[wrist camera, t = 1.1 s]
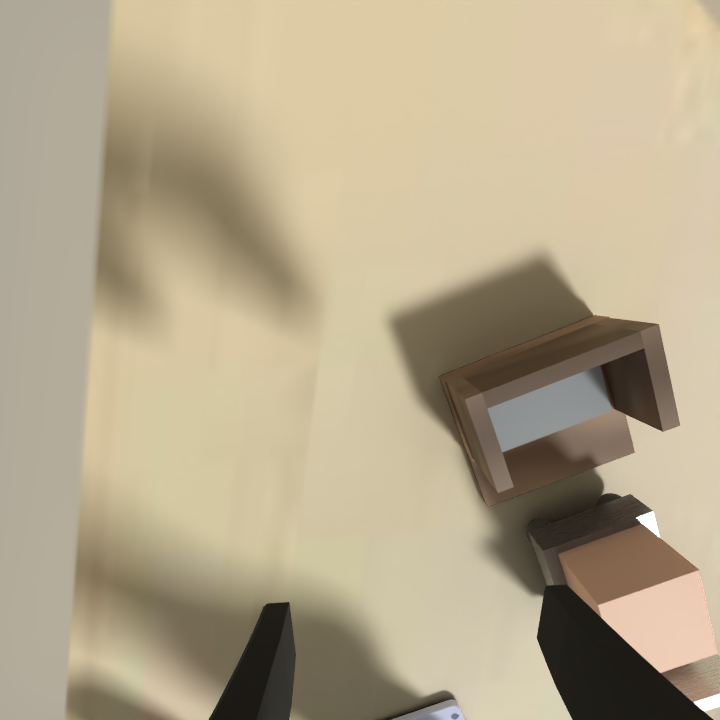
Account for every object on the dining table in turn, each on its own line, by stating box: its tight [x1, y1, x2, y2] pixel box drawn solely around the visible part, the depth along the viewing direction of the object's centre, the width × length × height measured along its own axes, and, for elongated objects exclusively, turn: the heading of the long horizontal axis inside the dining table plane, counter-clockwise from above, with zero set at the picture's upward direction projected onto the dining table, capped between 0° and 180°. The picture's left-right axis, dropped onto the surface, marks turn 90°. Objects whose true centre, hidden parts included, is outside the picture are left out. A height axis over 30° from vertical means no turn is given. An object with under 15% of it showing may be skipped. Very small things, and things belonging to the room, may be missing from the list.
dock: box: [439, 315, 680, 507], centre depth 18 cm, size 8×9×4 cm
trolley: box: [527, 493, 720, 711], centre depth 19 cm, size 8×6×6 cm
